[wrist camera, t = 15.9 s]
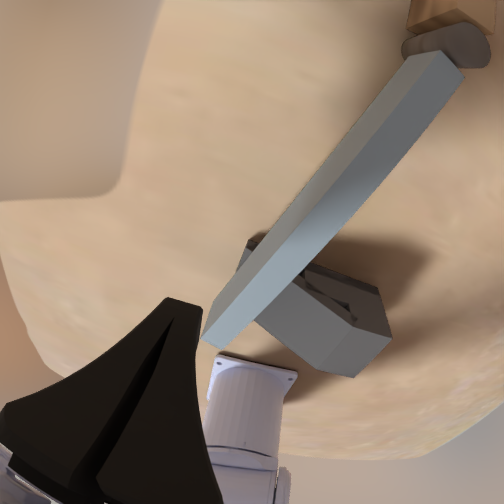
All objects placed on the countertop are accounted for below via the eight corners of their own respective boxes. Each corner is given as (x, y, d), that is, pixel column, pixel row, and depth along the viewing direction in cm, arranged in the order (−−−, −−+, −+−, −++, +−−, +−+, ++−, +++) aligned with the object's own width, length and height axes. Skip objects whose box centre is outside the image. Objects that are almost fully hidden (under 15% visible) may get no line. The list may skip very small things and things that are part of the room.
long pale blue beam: (232, 311, 20) (221, 349, 17) (213, 300, 19) (200, 338, 17) (430, 76, 10) (465, 77, 7) (408, 56, 10) (440, 49, 7)
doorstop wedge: (377, 287, 20) (392, 338, 15) (347, 327, 22) (353, 378, 18) (248, 239, 19) (234, 287, 15) (229, 288, 21) (213, 338, 17)
